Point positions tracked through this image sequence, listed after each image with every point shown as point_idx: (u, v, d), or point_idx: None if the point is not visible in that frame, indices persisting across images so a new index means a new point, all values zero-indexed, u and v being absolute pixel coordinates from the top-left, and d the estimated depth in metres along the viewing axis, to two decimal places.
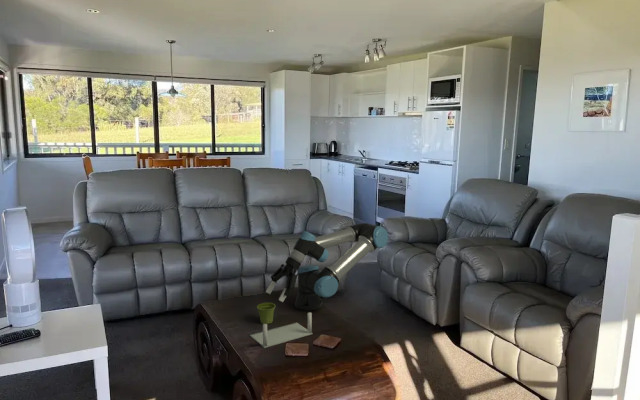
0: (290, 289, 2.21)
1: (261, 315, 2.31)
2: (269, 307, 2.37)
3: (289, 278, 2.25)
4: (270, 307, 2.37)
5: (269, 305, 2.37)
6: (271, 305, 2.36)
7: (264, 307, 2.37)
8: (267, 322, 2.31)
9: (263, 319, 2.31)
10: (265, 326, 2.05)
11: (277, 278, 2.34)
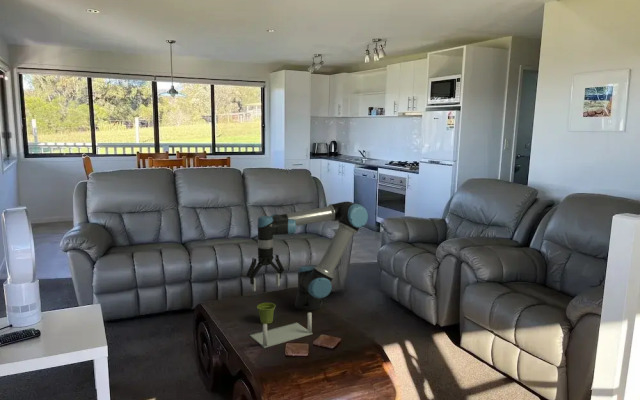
0: (249, 277, 2.25)
1: (261, 315, 2.31)
2: (269, 307, 2.37)
3: (256, 267, 2.28)
4: (270, 307, 2.37)
5: (269, 305, 2.37)
6: (271, 305, 2.36)
7: (264, 307, 2.37)
8: (267, 322, 2.31)
9: (263, 319, 2.31)
10: (265, 326, 2.05)
11: (275, 269, 2.33)
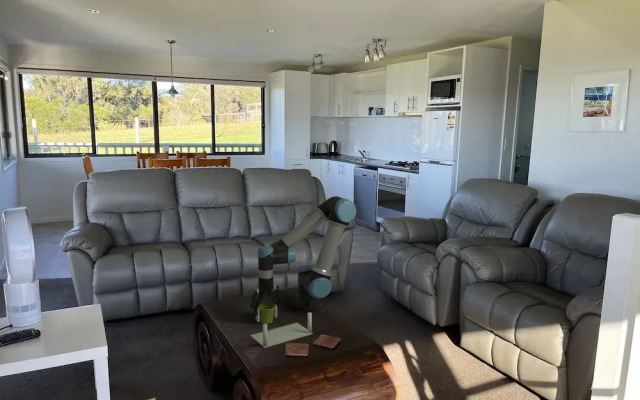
0: (253, 308, 2.29)
1: (261, 315, 2.31)
2: (269, 307, 2.37)
3: (258, 297, 2.30)
4: (270, 307, 2.37)
5: (269, 305, 2.37)
6: (271, 305, 2.36)
7: (264, 307, 2.37)
8: (267, 322, 2.31)
9: (263, 319, 2.31)
10: (265, 326, 2.05)
11: (273, 300, 2.35)
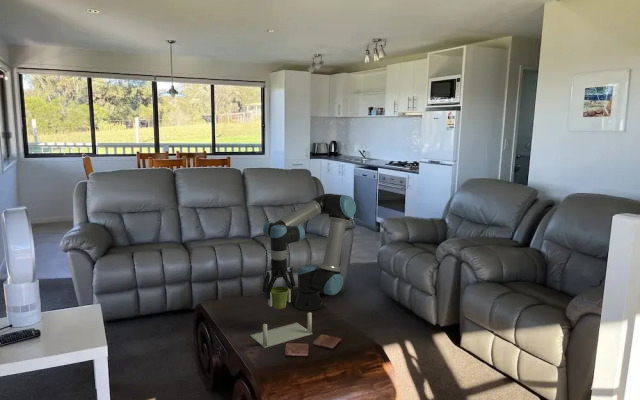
0: (265, 292, 2.13)
1: (274, 299, 2.15)
2: (282, 291, 2.21)
3: (271, 280, 2.15)
4: (283, 291, 2.21)
5: (282, 288, 2.21)
6: (284, 289, 2.21)
7: (276, 291, 2.21)
8: (280, 307, 2.15)
9: (276, 303, 2.15)
10: (265, 326, 2.05)
11: (287, 283, 2.19)
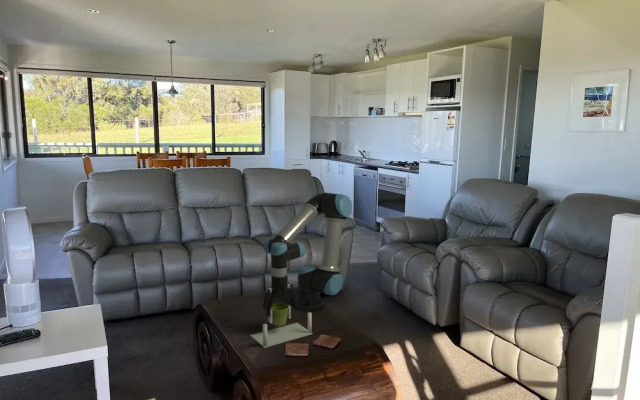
0: None
1: (274, 316, 2.16)
2: (282, 307, 2.22)
3: (271, 297, 2.16)
4: (283, 307, 2.22)
5: (282, 305, 2.22)
6: (284, 305, 2.22)
7: (277, 308, 2.22)
8: (280, 323, 2.17)
9: (276, 320, 2.16)
10: (265, 326, 2.05)
11: (287, 300, 2.20)
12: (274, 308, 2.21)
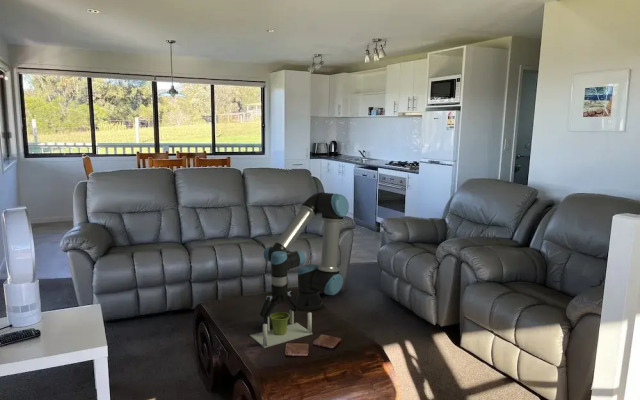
0: (262, 316, 2.14)
1: (274, 325, 2.17)
2: (282, 317, 2.23)
3: (270, 305, 2.16)
4: (284, 317, 2.23)
5: (283, 314, 2.23)
6: (285, 315, 2.23)
7: (277, 317, 2.23)
8: (281, 333, 2.17)
9: (276, 330, 2.17)
10: (265, 326, 2.05)
11: (289, 306, 2.22)
12: (274, 317, 2.22)
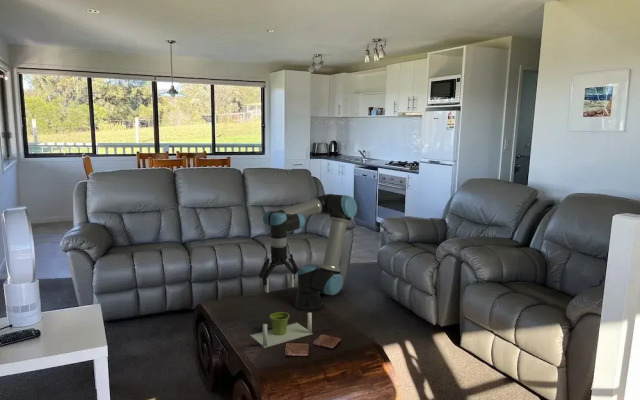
0: None
1: (274, 325, 2.17)
2: (282, 317, 2.23)
3: (269, 267, 2.13)
4: (283, 317, 2.23)
5: (282, 314, 2.23)
6: (284, 315, 2.23)
7: (277, 317, 2.23)
8: (281, 333, 2.17)
9: (276, 330, 2.17)
10: (265, 326, 2.05)
11: (289, 269, 2.19)
12: (274, 317, 2.22)
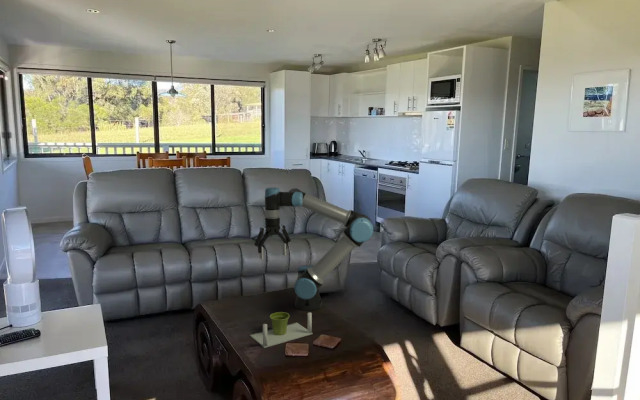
0: (257, 246, 2.33)
1: (274, 325, 2.17)
2: (282, 317, 2.23)
3: (264, 236, 2.36)
4: (283, 317, 2.23)
5: (282, 314, 2.23)
6: (285, 315, 2.23)
7: (277, 317, 2.23)
8: (281, 333, 2.17)
9: (276, 330, 2.17)
10: (265, 326, 2.05)
11: (282, 239, 2.41)
12: (274, 317, 2.22)
